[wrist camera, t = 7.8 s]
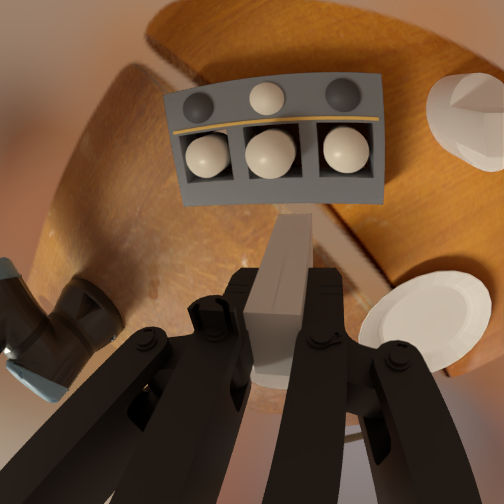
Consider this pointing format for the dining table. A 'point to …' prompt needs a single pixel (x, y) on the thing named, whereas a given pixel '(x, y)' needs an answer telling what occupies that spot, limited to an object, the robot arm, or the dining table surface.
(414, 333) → the plate
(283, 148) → the button
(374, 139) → the board
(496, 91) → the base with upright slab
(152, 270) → the dining table surface
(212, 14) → the dining table surface
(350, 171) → the button
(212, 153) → the button
